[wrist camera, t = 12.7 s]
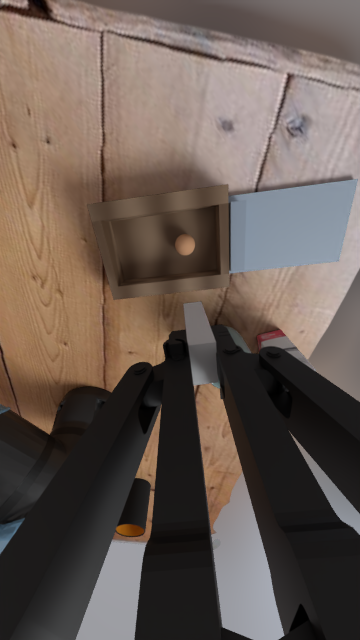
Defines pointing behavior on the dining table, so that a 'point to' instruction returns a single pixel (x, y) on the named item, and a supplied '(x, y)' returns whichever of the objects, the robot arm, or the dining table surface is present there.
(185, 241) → the ball
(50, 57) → the dining table surface
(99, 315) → the dining table surface
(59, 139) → the dining table surface
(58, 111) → the dining table surface
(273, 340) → the ink box
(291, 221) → the lid
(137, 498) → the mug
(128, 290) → the box
